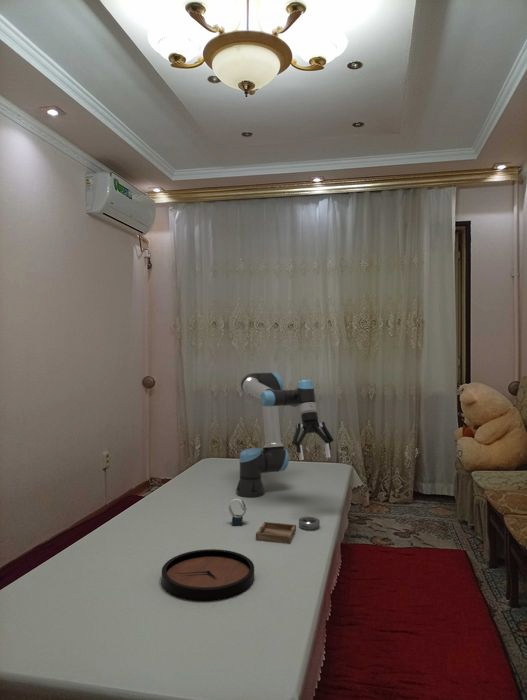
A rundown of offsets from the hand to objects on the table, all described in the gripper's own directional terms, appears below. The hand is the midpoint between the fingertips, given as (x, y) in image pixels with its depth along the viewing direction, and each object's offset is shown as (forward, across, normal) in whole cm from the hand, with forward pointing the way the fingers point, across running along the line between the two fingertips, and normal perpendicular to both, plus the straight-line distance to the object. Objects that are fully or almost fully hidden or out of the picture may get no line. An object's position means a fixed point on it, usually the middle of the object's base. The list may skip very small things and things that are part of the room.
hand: (315, 459), depth 234 cm
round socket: (+29, -6, +2) cm, 29 cm away
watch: (+24, -34, +16) cm, 45 cm away
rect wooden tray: (+30, -24, -2) cm, 38 cm away
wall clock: (+39, -61, -28) cm, 77 cm away
